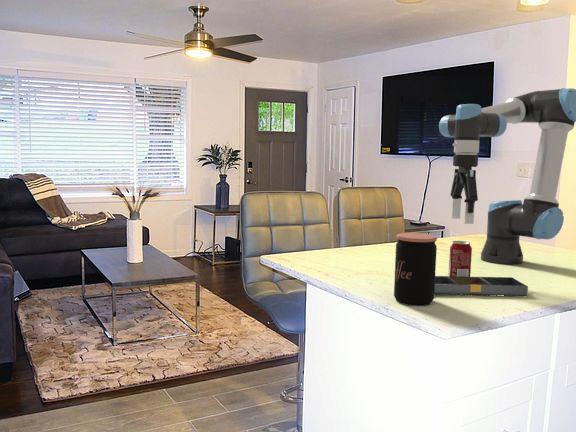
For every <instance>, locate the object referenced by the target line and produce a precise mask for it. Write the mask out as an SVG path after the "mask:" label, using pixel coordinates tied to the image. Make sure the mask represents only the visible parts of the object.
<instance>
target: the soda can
mask: <svg viewBox="0 0 576 432" xmlns="http://www.w3.org/2000/svg"><path fill="white" fill-rule="evenodd" d="M472 252H473V247H472V246H471V242H469V241H466V240H452V243H451V245H450V246H449V254H448V255H449V256H448V257H449V258H448V259H449V260H448V275H447V276H465V277H471V271H472V255H473V254H472Z"/></svg>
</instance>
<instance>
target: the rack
mask: <svg viewBox="0 0 576 432" xmlns="http://www.w3.org/2000/svg"><path fill="white" fill-rule="evenodd" d="M528 289H529V286H528V285H526V284H524V283H523V282H521V281H519V280H518V279H516V278H514V277H510V276H508V277H506V276H505V277H502V276H470V277H465V276H448V275H435V291H434V296H468V295H470V296H471V295H472V296H477V297H478V296H479V297H491V296H490V295H496V296H495V297H498V296H497V295H504V296H503V297H517V296H527V297H528V295H529V294H528ZM487 295H488V296H487Z"/></svg>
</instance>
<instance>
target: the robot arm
mask: <svg viewBox="0 0 576 432" xmlns="http://www.w3.org/2000/svg"><path fill="white" fill-rule="evenodd" d="M509 123H510V124H512V125H517V124H521V123H523V124H525V123H527V124H528V123H534V124H535V123H537V124H538V127H539V128H540V130H541V134H540V138H539V142H538V149H537V154H536V158H535V165H534V169H533V175H532V180H531V185H530V190H529V191H530V192H529V194H528V195H527V196H526V197H524V199H523V201H522V200H521V199H516V200H514V199H513V200H499V201H492V202H490V203H489V205H488V210H487V225H486V240H485V243H484V244H483V245H484V246H483V248H482V250H481V252H480V259H481V260H482V261H484V262H488V263H493V264H502V265H503V264H504V265H517V264H522V263H524V255H523V252H522V247H521V244H520V237H525V238H531V239H532V238H533V239H536V240H551V239H554V238H555V237H556V236H557V235H558V234H559V233H560V231H561V230H562V228H563V225H564V221H565V219H564V218H565V217H564V212H563V210H562V209H561V208H560V202H559V201H558V200H557V199H556V197H557V192H558V186H559V181H560V176H561V170H562V166H563V160H564V157H565V155H564V154H565V149H566V145H567V141H568V140H567V139H568V134H569V132H571V131H573V130H574V128H575V123H576V89H575V88H564V87H562V88H556V89H547V90H545V89H544V90H535V91H532V92H531V91H530V92H528V93H524V94H522V95H518V96H515V97H511V98H508V99H507V100H506V101H505V102H503V103H502V102H501V103H497V104H494V105H491V106H486V107H482V106H481V105H480V104H477V103H465V104H463V103H461V104H459V105H457V106H456V112H455V114H448V115H444V116H443V117H442V118H441V119H440V121H439V123H438V128H439V129H438V130H439V133H440V134H441V135H442V136H443V137H445V138H454V139H453V140H454V142H453V143H452V146H453V153H454V155H453V156H452V157H453V158H452V165H453V167H458V168H454V174H453V175H454V176H453V181H452V185H451V191H450V194H449V195H450V196H451V199H452V200H451V201H452V202H451V218H450V219H454V220H455V219H456V220H457V219H459V220H460V219H461V212H462V211H461V209H462V199H463V195H462V194H463V191H464V196H465V199H464V201H463V203H464V216H463V224H465V225H466V224H467V225H470V224H471V225H474V219H475V205H476V204H475V203H476V202H477V201H478V200H479V198H478V188H477V177H476V175H477V173H476V172H477V171H476V169H473V168H477V167H478V165H479V155H478V154H479V153H480V137H482V138H485V137H489V138H497V137H500V136H502V135H503V134H504V133H505V132H506V130H507V126H508V124H509Z"/></svg>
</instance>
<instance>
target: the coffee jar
mask: <svg viewBox="0 0 576 432" xmlns="http://www.w3.org/2000/svg"><path fill="white" fill-rule="evenodd" d="M396 239H397V242H396V244H395V260H394V263H395V264H394V282H393V283H394V286H393V297H394V299H395V300H396V302H398V303H399V304H402V305H406V306H413V307H421V306H422V307H424V306H429V305H430V304H432V302H433V301H434V299H435V295H434V291H435V276H436V271H437V270H436V269H437V249H438V248H437V244H436V241H437V240H438V237H437V236H436V235H435V234H427V233H419V232H403V233H401V232H400V233H397V234H396Z"/></svg>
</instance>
